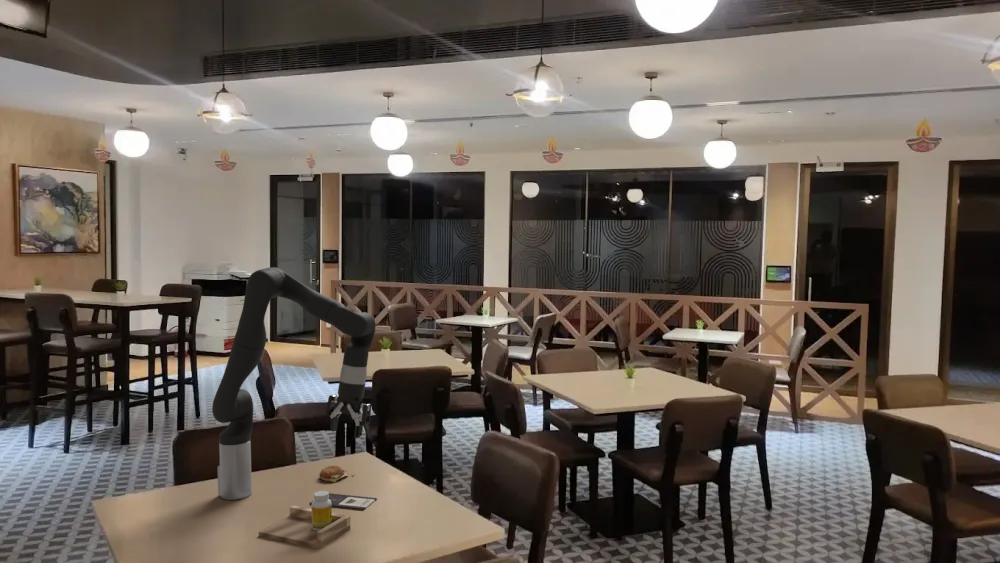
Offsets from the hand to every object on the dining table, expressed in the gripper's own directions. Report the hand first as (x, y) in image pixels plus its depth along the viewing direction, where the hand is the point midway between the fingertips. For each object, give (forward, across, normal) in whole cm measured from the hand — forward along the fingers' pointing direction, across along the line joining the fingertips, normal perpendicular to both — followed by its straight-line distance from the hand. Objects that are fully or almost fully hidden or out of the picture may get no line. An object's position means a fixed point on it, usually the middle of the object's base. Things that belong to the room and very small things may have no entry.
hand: (345, 434), depth 206 cm
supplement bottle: (+23, +6, -12) cm, 27 cm away
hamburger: (+25, -19, +26) cm, 41 cm away
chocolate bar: (+24, -3, +8) cm, 25 cm away
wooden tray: (+24, +2, -15) cm, 29 cm away
